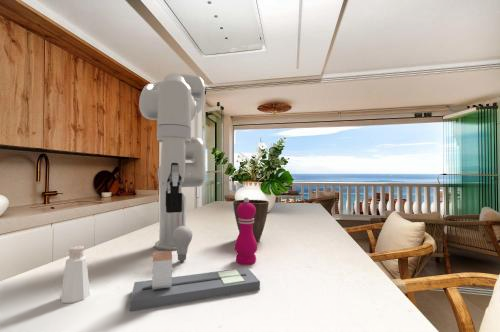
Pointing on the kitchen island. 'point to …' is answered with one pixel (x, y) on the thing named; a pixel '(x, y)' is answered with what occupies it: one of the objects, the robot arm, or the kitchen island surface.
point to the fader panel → (193, 288)
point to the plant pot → (255, 216)
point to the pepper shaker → (75, 277)
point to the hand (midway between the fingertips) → (173, 209)
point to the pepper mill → (246, 234)
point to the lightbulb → (182, 241)
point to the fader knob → (162, 270)
